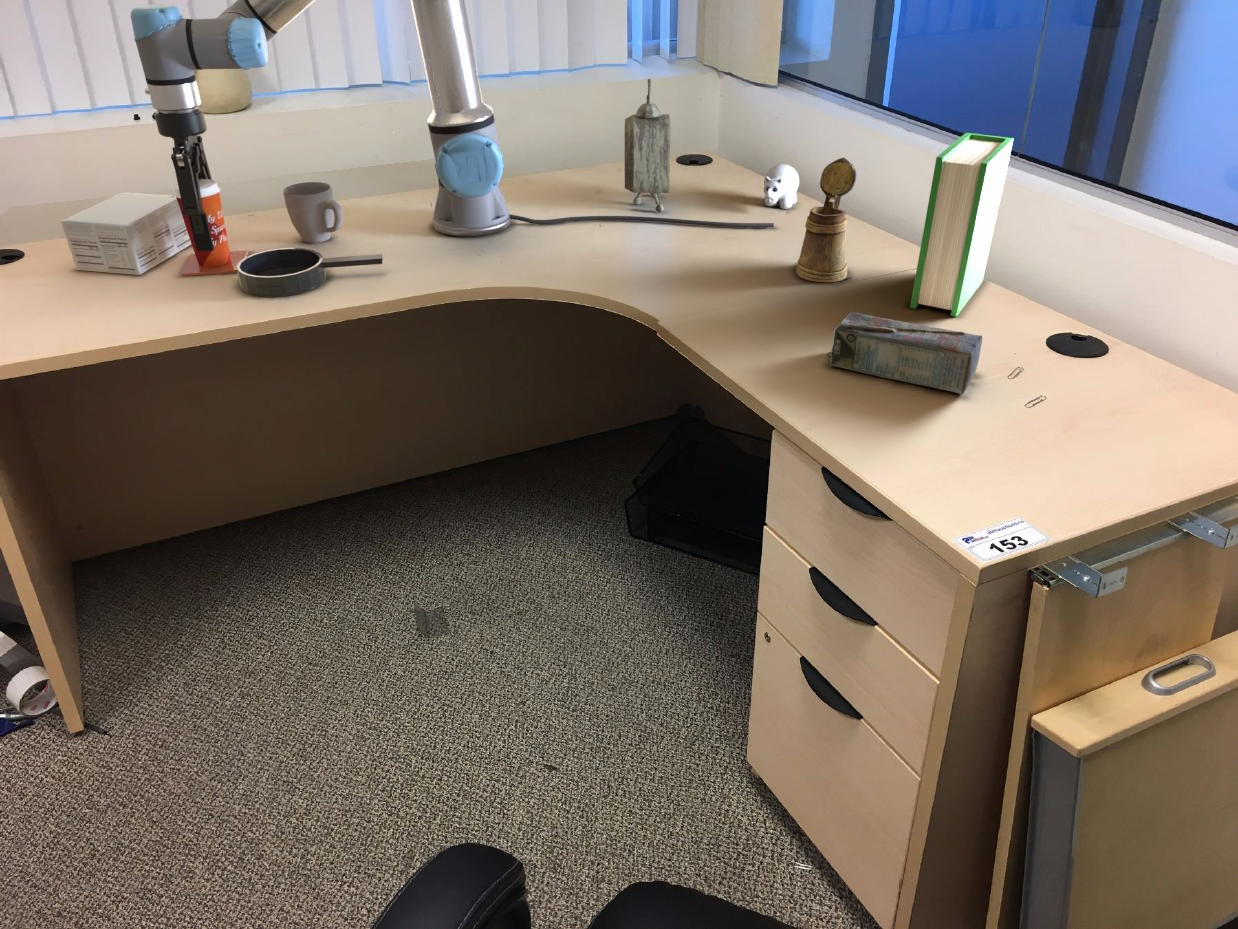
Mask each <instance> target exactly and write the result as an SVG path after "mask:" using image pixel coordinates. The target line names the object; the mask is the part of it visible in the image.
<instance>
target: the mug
mask: <svg viewBox="0 0 1238 929" xmlns="http://www.w3.org/2000/svg"><path fill="white" fill-rule="evenodd" d="M282 192H283V199H284V203H285V207H286V210H287V214H288V216H289V219H290V221H291V223H292V225H293V227H294V229H295V230H296V232H297V234H299V237H300V238H301V241H303V242H304V243H308V244H317V243H322V242H326V241H328V240H330V239H331V234H332V233H335V232H337V231H339V230H340V229H341V228H342V225H343V220H344V215H343V210H342V207H341V205H340V204H339V202H338V201H336V200H334V194H333V189H332V186H331V184H329V183H326V182H319V181H307V182H298V183H294V184H291V185H288V186H286V187H285V188H284V189H283V191H282Z"/></svg>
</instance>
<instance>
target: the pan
mask: <svg viewBox="0 0 1238 929" xmlns="http://www.w3.org/2000/svg"><path fill="white" fill-rule="evenodd" d="M323 258H324V256H323V255H322V254H321V252H318V251H316V250H313V249H308V248H303V247H302V248H301V247H283V248H282V247H281V248H275V249H274V248H273V249H268V250H267V249H266V250H263V251H259V252H256V253H253V254H251V255H247V257H246V258H244V259H242V260H241V261H240V262H238V264H237V266H236V270H237V278H238V282H239V287H240V289H241V290H242V291H243V292H244V293H245V294H247V295H251V296H254V297H261V298H282V297H290V296H296V295H301V294H304V293H307V292H310V291H312V290H315V289H316V288H319V287H320V286H322V285H323V284H324V283H325V282H326V280H327V271H326V268H323Z"/></svg>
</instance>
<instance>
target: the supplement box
mask: <svg viewBox="0 0 1238 929" xmlns="http://www.w3.org/2000/svg"><path fill="white" fill-rule="evenodd" d="M60 224H61V227H62V230H63V232H64V235H65V238H66V241H67V245H68V248H69V250H70V253H71V256H72V259H73V262H74V264H75V268H76V270H77V271H85V272H86V271H87V272H98V273H108V274H110V273H111V274H120V275H121V274H123V275H133V276H141V275H143V274H144V273H146V272H148V271H149V270H151V269H152V268H154V267H156V266H157V265H159V264H161V263H163V262H165V261H166V260H168V259H169V258H171V257H173V256H174V255H176V254H178V253H179V252H181V251H183V250H184V249H186V248H188V247H189V246H192V244H191V241H190V238H189V235H188V232H187V229H186V226H185V223H184V220H183V217H182V213H181V210H180V207H179V204H178V201H177V198H176V197H175V196H174V195H173V194H159V193H158V194H156V193H141V192H140V193H139V192H127V191H124V192H122V191H121V192H119V193H116V194H115V195H112V196H110V197H108V198H106V199H104V200H102V201H100V202H98V203H95V204H94V205H91V206H90V207H87V208H85V209H83V210H81V211H79V212H77V213H74V214H72V215H70V216H68V217H66V218H63V219H61V220H60Z"/></svg>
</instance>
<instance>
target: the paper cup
mask: <svg viewBox="0 0 1238 929" xmlns="http://www.w3.org/2000/svg"><path fill="white" fill-rule="evenodd" d="M199 186H200V193H201V200H202V207H203V211H204V212H203V213H206V217H207V221H208V225H209V230H210V234H211V238H212V242H213V246H214V250H213V251H197V249H196V245H195V241H194V237H193V233H192V229H191V225H190V221H189V217H188V215H187V216H183V215H182V217H183V220H184V223H185V226H186V229H187V232H188V235H189V238H190V241H191V247H192V250H193V252H194V254H195V256H196V259H197V261H198V264H199V265H200V266H202V267H218V266H222V265H225V264H227V263H229V262H230V261H231V257H230V252H231V251H230V245H229V239H228V233H227V228H226V222H225V217H224V211H223V206H222V201H221V195H220V192H221V190H222V189H221V187H220V186H219V185H218V183H217V181H216V180H213V179H212V180H210V179H199ZM173 190H174V191H173V194H172V195H174V196H175V197H176V198H177V201H178V204H179V207H180V210H181V213H182V212H183V206H182V201H181V196H180V192H179V187H178V183H177V184H175V185H174V188H173Z"/></svg>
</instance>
